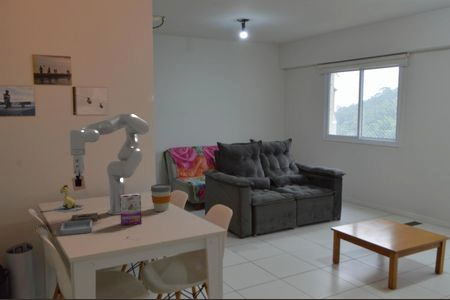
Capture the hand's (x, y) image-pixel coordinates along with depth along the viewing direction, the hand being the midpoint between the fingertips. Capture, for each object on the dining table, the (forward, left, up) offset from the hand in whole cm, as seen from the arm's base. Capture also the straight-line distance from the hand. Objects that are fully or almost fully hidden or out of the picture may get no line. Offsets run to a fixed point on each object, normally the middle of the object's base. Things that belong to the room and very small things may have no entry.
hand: (78, 185), depth 207 cm
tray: (+1, +9, -22) cm, 24 cm away
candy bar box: (-27, +7, -22) cm, 35 cm away
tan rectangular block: (-1, 0, -2) cm, 2 cm away
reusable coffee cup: (-47, -17, -22) cm, 55 cm away
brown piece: (-2, -9, -22) cm, 23 cm away
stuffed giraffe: (+9, -38, -22) cm, 45 cm away
